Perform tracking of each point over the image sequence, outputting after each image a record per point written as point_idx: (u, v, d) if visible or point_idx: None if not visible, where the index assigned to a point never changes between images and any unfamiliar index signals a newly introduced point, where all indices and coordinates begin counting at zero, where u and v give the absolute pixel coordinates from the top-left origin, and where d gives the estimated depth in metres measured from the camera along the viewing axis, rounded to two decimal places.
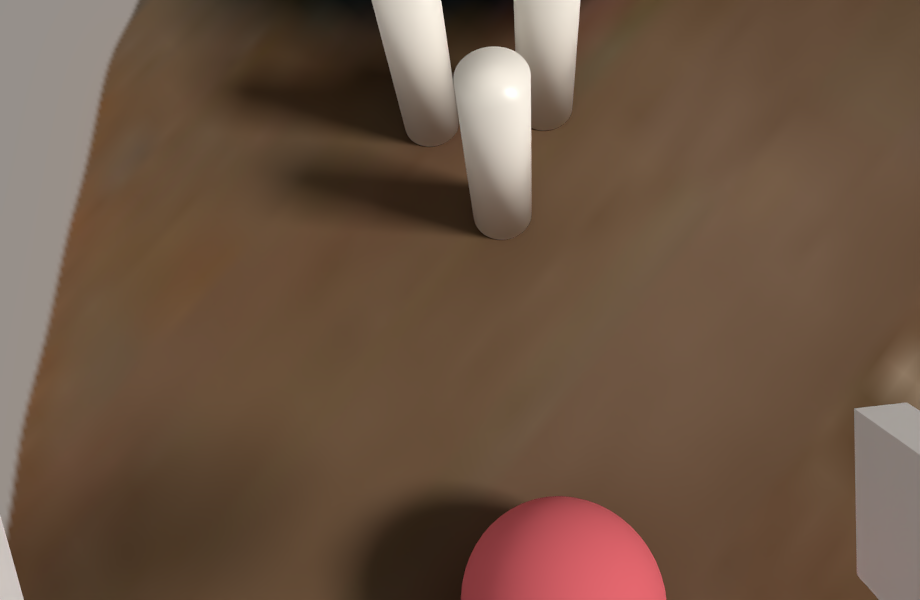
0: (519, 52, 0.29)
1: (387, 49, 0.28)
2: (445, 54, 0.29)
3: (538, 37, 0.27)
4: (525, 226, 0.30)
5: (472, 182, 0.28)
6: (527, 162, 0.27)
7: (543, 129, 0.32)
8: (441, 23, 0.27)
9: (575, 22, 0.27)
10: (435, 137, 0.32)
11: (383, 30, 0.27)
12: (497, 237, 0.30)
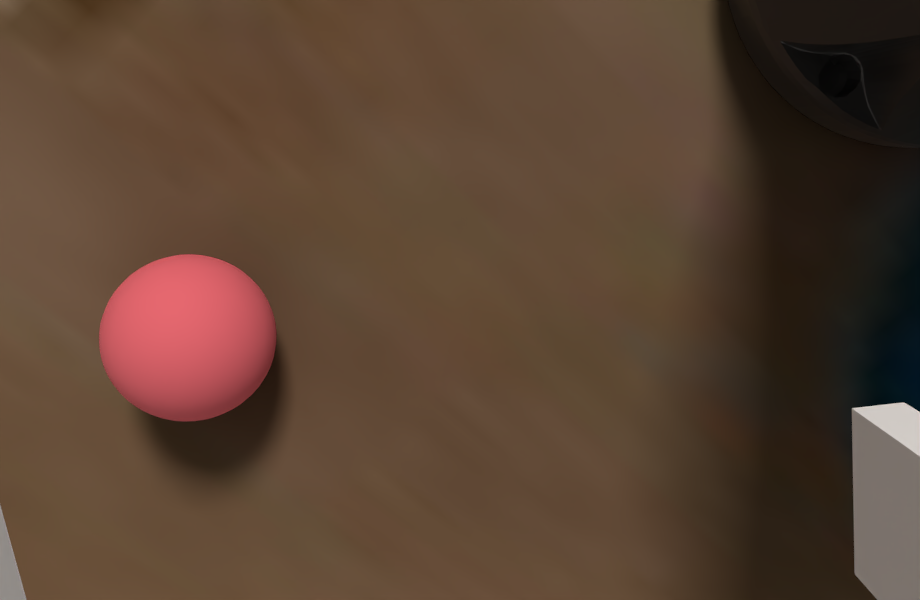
0: None
1: None
2: None
3: None
4: None
5: None
6: None
7: None
8: None
9: None
10: None
11: None
12: None
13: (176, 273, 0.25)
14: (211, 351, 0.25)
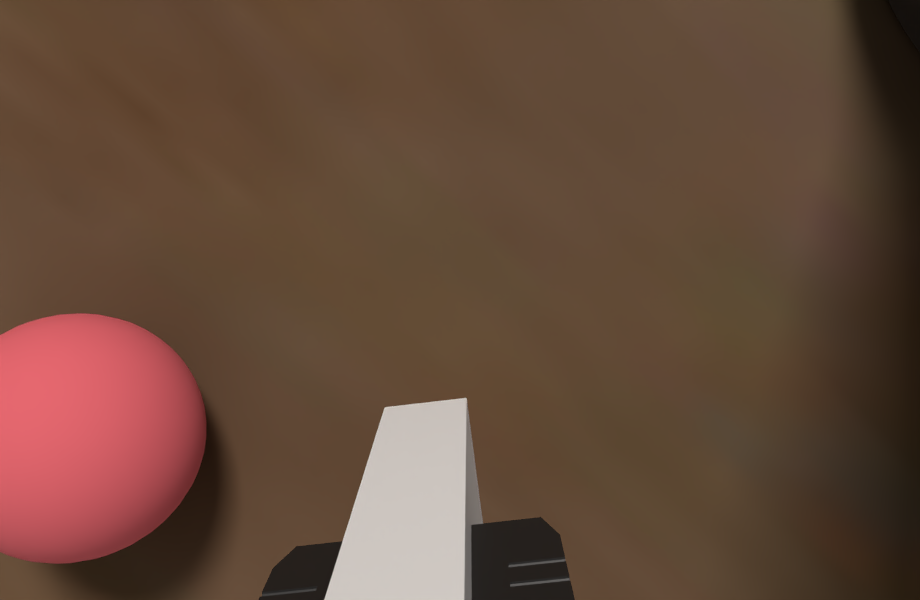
0: None
1: None
2: None
3: None
4: None
5: None
6: None
7: None
8: None
9: None
10: None
11: None
12: None
13: (41, 349, 0.17)
14: (91, 471, 0.16)
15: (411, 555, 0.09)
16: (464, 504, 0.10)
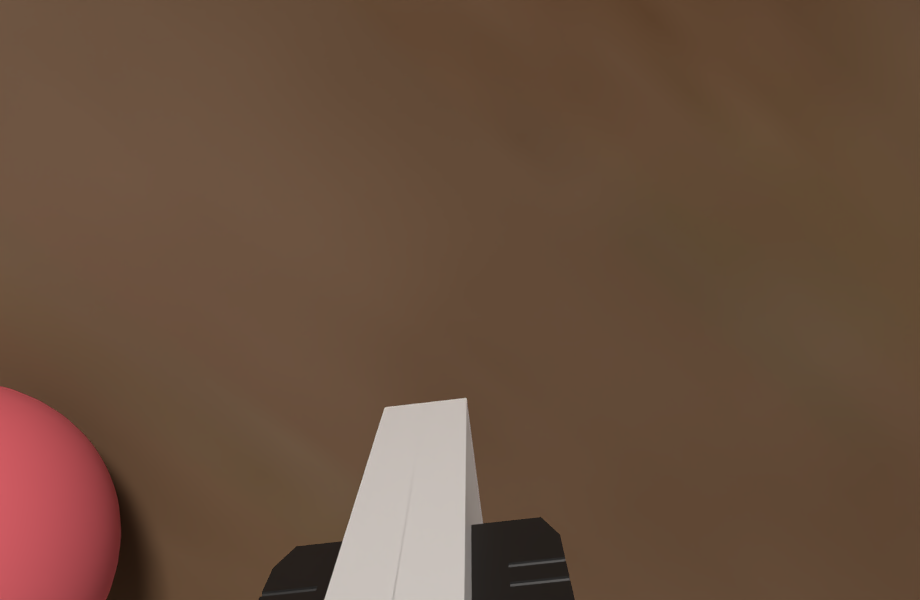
0: None
1: None
2: None
3: None
4: None
5: None
6: None
7: None
8: None
9: None
10: None
11: None
12: None
13: None
14: None
15: (411, 555, 0.09)
16: (464, 504, 0.10)
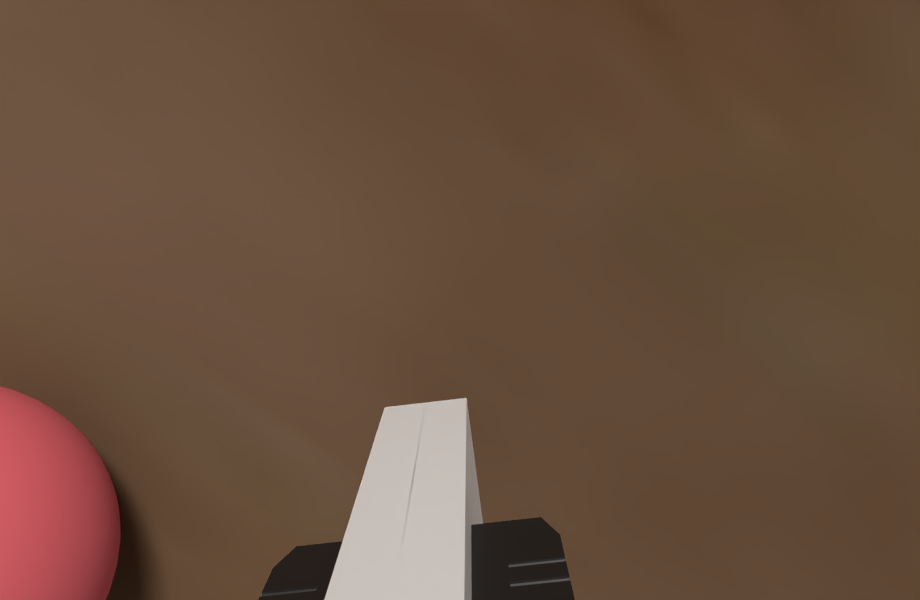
0: None
1: None
2: None
3: None
4: None
5: None
6: None
7: None
8: None
9: None
10: None
11: None
12: None
13: None
14: None
15: (411, 555, 0.09)
16: (464, 504, 0.10)
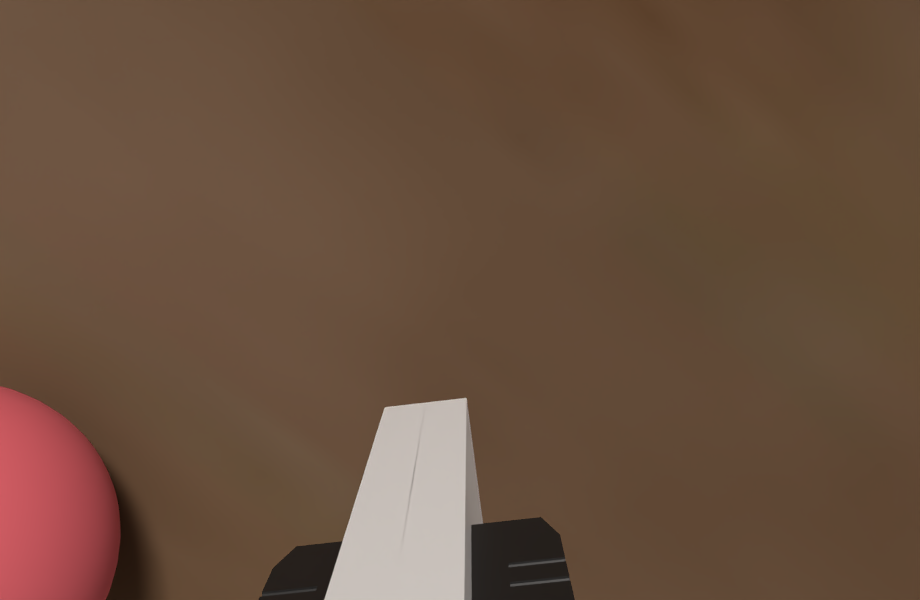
0: None
1: None
2: None
3: None
4: None
5: None
6: None
7: None
8: None
9: None
10: None
11: None
12: None
13: None
14: None
15: (411, 555, 0.09)
16: (464, 504, 0.10)
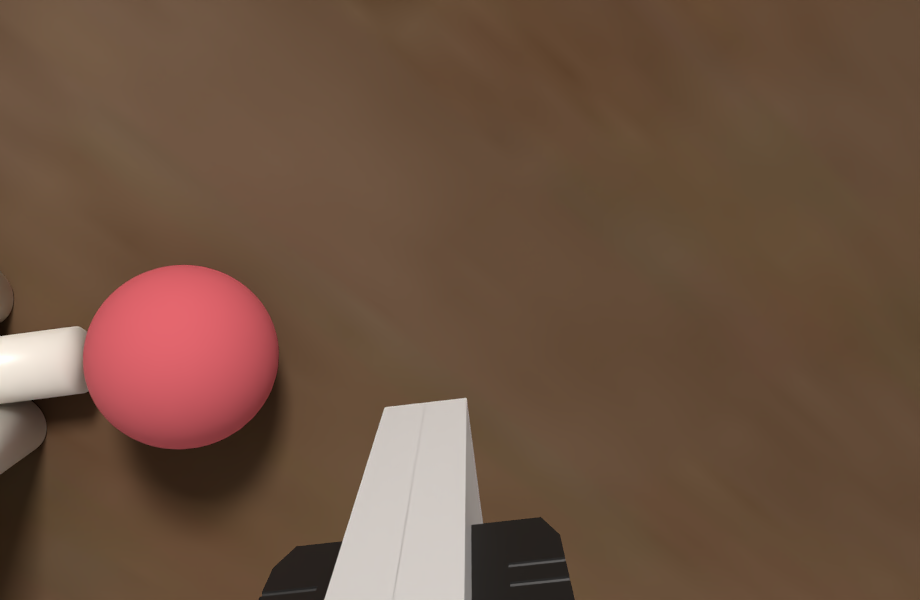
0: None
1: None
2: None
3: None
4: (54, 346, 0.26)
5: None
6: None
7: (12, 297, 0.27)
8: None
9: None
10: (35, 423, 0.28)
11: None
12: (61, 382, 0.26)
13: None
14: None
15: (411, 555, 0.09)
16: (464, 504, 0.10)
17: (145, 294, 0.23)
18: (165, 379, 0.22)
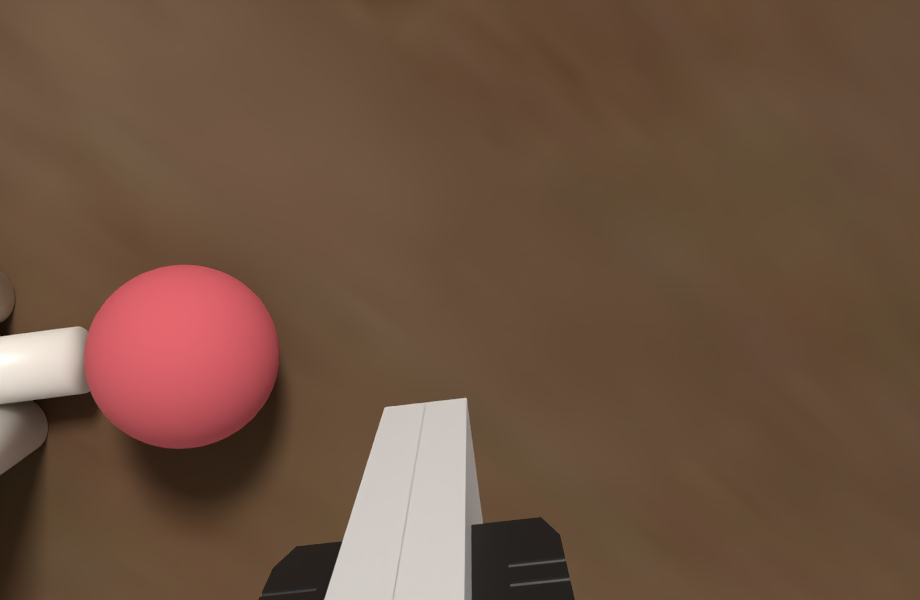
0: None
1: None
2: None
3: None
4: (56, 347, 0.26)
5: None
6: None
7: (13, 297, 0.27)
8: None
9: None
10: (37, 423, 0.28)
11: None
12: (62, 382, 0.26)
13: None
14: None
15: (411, 555, 0.09)
16: (464, 504, 0.10)
17: (146, 294, 0.23)
18: (167, 378, 0.22)
